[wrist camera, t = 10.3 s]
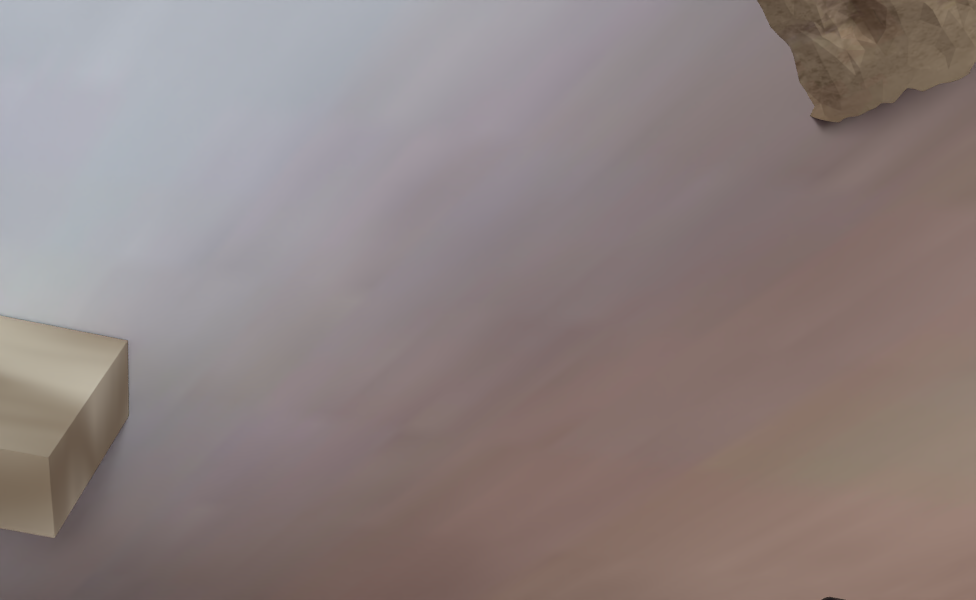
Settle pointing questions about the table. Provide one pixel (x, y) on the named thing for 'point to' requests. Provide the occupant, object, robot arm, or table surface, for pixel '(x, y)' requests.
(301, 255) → the table surface
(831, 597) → the robot arm
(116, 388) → the maple rail
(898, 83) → the clay tablet
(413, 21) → the table surface
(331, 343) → the table surface
